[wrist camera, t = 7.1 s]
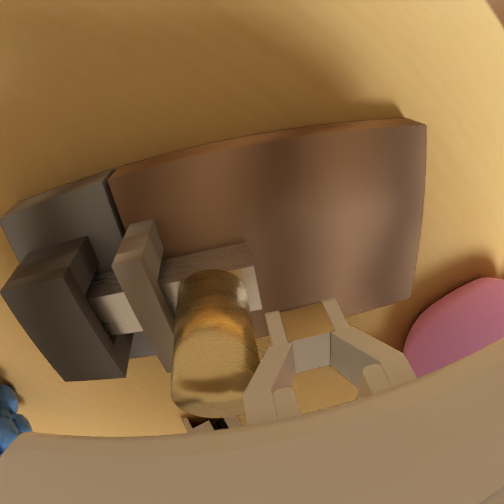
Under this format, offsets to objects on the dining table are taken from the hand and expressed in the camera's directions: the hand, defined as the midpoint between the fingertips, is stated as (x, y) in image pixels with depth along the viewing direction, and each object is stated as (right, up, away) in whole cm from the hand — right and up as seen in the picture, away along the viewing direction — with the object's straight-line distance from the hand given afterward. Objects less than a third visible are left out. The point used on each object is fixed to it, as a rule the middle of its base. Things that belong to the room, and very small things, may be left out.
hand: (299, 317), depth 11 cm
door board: (-3, +3, +6) cm, 7 cm away
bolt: (-8, +1, +4) cm, 8 cm away
